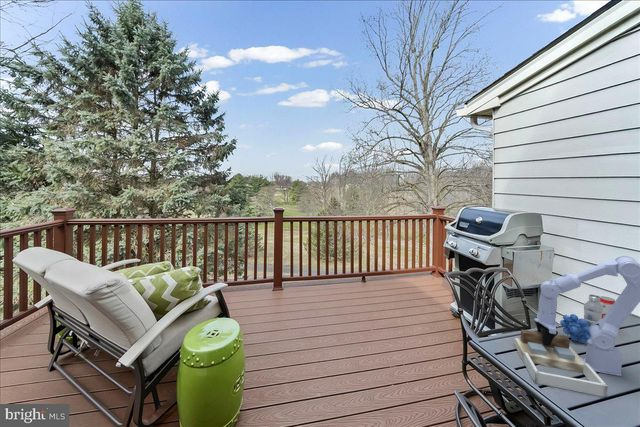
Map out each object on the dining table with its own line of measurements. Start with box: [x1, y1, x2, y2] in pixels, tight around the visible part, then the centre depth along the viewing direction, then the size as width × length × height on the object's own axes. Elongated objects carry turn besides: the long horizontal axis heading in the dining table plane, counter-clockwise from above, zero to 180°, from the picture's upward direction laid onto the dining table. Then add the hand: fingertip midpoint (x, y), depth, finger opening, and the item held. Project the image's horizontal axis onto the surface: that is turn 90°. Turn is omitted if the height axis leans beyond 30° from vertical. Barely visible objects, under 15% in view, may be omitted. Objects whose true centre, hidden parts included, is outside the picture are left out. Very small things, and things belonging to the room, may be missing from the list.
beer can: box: [599, 296, 616, 319], centre depth 140 cm, size 6×6×16 cm
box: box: [522, 352, 608, 398], centre depth 106 cm, size 20×13×4 cm, turn 70°
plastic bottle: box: [583, 294, 603, 326], centre depth 133 cm, size 6×7×20 cm
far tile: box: [527, 342, 547, 356], centre depth 118 cm, size 5×5×2 cm
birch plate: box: [513, 337, 584, 373], centre depth 119 cm, size 20×13×3 cm, turn 70°
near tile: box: [554, 346, 575, 361], centre depth 115 cm, size 5×5×2 cm
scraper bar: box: [519, 329, 571, 349], centre depth 122 cm, size 16×3×4 cm, turn 70°
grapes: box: [559, 313, 591, 344], centre depth 130 cm, size 12×7×12 cm, turn 36°
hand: (544, 341), depth 123 cm, fingers open, 5 cm apart
